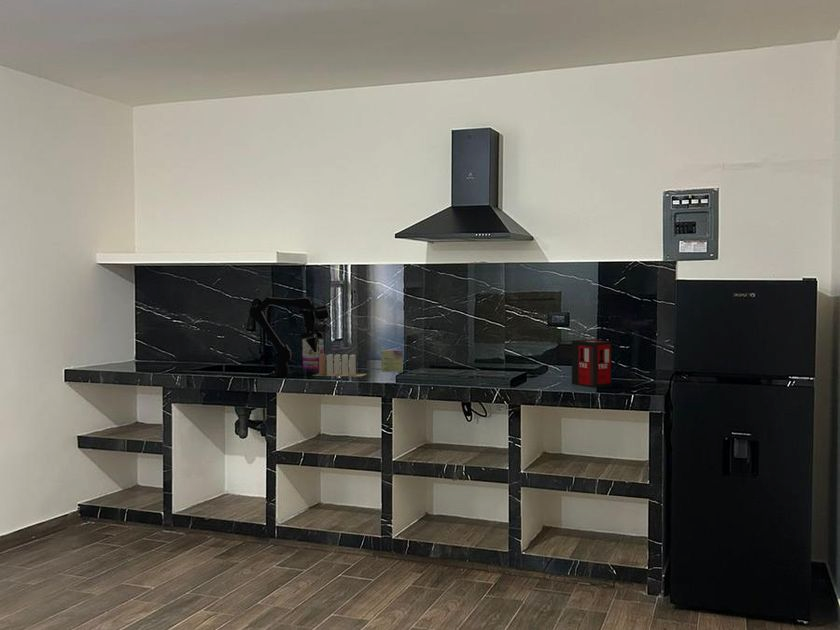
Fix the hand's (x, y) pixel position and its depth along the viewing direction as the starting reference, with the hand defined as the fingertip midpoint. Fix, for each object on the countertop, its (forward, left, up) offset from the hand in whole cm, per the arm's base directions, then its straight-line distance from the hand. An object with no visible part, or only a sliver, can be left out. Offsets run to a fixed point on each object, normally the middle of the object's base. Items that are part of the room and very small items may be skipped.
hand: (315, 352), depth 414 cm
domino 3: (+11, 0, -11) cm, 16 cm away
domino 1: (+3, 0, -11) cm, 12 cm away
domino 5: (+19, 0, -11) cm, 22 cm away
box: (+34, +20, -13) cm, 42 cm away
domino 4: (+15, 0, -11) cm, 19 cm away
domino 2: (+7, 0, -11) cm, 14 cm away
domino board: (+12, 0, -12) cm, 17 cm away
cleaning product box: (+136, -13, -13) cm, 138 cm away
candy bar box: (-12, +28, -13) cm, 33 cm away
